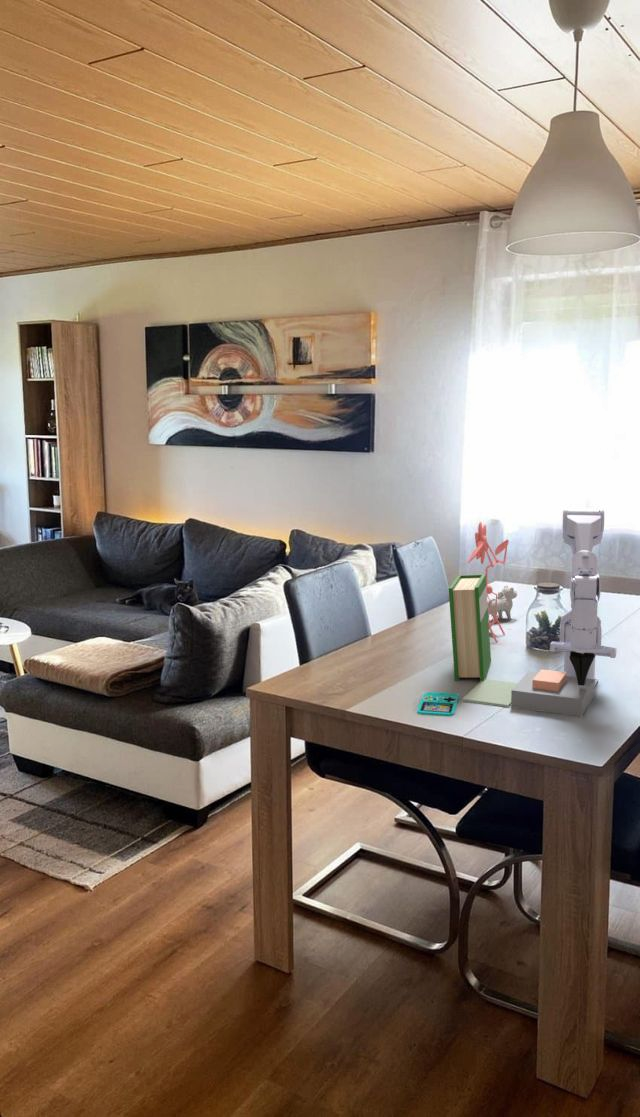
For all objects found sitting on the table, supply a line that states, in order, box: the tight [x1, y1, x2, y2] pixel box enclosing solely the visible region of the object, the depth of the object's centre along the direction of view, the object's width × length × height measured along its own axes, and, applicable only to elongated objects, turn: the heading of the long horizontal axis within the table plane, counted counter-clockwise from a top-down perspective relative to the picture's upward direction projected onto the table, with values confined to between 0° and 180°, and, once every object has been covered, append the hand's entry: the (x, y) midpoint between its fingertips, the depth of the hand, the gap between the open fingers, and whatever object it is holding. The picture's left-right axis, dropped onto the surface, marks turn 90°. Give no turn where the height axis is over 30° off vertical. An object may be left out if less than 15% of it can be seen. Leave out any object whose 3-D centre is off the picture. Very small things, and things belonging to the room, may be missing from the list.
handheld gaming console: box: [416, 691, 460, 717], centre depth 210 cm, size 8×1×15 cm
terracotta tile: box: [532, 669, 567, 691], centre depth 210 cm, size 9×6×2 cm, turn 153°
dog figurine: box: [487, 585, 518, 624], centre depth 289 cm, size 5×13×11 cm, turn 127°
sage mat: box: [462, 678, 518, 708], centre depth 217 cm, size 17×11×1 cm, turn 153°
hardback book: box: [448, 573, 492, 682], centre depth 232 cm, size 18×7×24 cm, turn 164°
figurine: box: [467, 521, 513, 643], centre depth 266 cm, size 15×26×35 cm, turn 155°
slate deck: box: [510, 671, 596, 717], centre depth 210 cm, size 16×16×4 cm
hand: (581, 684), depth 207 cm, fingers closed
